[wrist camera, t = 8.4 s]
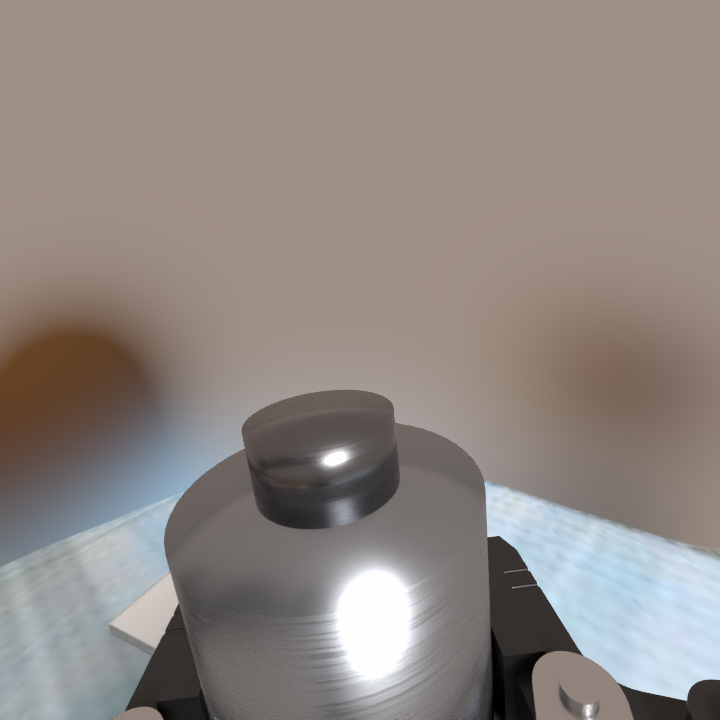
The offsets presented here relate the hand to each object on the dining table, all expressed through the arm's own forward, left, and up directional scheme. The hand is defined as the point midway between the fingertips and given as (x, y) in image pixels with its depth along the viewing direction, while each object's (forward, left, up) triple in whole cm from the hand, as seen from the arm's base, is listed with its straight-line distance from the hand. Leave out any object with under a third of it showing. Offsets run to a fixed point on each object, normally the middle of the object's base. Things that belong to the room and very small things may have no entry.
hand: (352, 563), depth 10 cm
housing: (+1, -2, -6) cm, 7 cm away
